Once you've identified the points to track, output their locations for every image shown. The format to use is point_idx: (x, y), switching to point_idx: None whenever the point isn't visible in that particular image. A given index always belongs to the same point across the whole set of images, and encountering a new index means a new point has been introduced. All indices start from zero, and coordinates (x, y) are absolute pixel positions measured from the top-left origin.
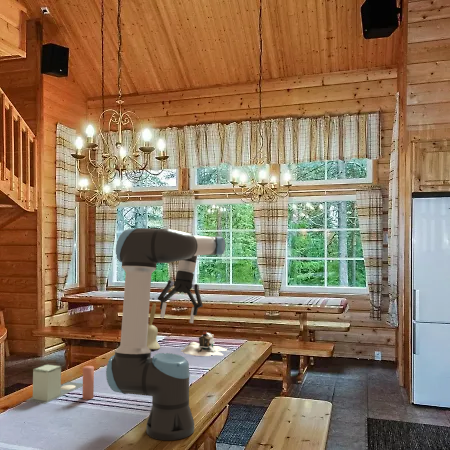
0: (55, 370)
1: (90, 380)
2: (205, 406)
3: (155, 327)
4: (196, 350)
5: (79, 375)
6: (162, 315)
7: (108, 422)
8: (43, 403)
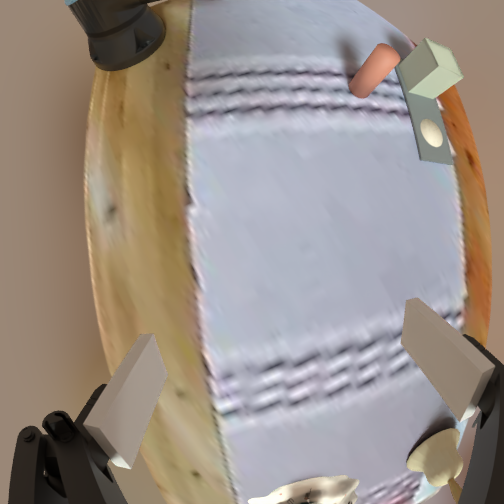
0: (430, 55)
1: (365, 61)
2: (99, 148)
3: (437, 483)
4: (318, 492)
5: (466, 218)
6: (413, 317)
7: (242, 23)
8: None
